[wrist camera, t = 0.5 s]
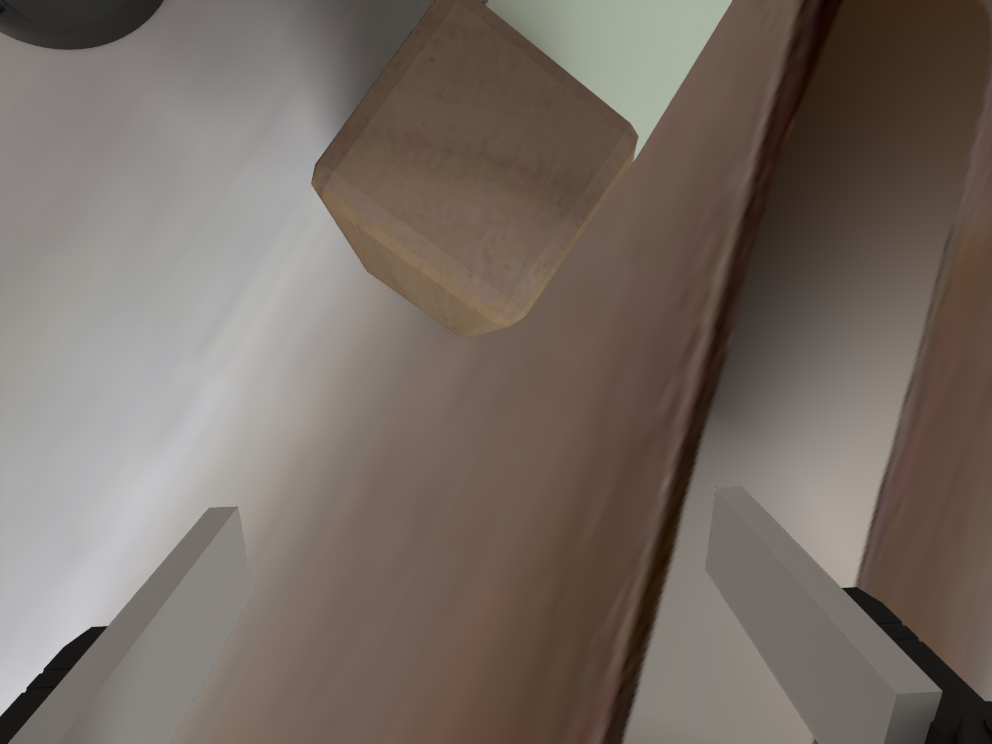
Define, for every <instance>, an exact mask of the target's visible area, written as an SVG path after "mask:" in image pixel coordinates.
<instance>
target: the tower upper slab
mask: <svg viewBox="0 0 992 744" xmlns="http://www.w3.org/2000/svg"><path fill="white" fill-rule="evenodd" d="M731 2H732V0H488V2H487V3H486V6H487V7H488V8H490V9H491V10H492V11H493V12H494V13H496V14H497V15H498V16H499V17H501V18H502V19H503V20H504V21H506V22H507V23H508V24H509V25H510V26H512V27H513V28H514V29H515V30H517V31H518V32H519V33H520V34H522V35H523V36H524V37H525V38H526V39H528V40H529V41H530V42H531V43H533V44H534V45H535V46H536V47H538V48H539V49H540V50H541V51H542V52H544V53H545V54H546V55H547V56H549V57H550V58H551V59H552V60H553V61H555V62H556V63H557V64H558V65H560V66H561V67H562V68H563V69H565V70H566V71H567V72H568V73H569V74H571V75H572V76H573V77H574V78H576V79H577V80H578V81H579V82H581V83H582V84H583V85H584V86H585V87H587V88H588V89H589V90H590V91H592V92H593V93H594V94H595V95H597V96H598V97H599V98H600V99H601V100H603V101H604V102H605V103H606V104H608V105H609V106H610V107H611V108H613V109H614V110H615V111H616V112H617V113H619V114H620V115H621V116H622V117H624V118H625V119H626V120H627V121H629V122H630V123H631V124H632V126H633V128H634V129H635V131H636V133H637V134H638V136H639V137H638V141H637V145H636V150H635V154H634V159H633V161H634V160H635V159H636V157H637V156H638V154H639V152H640V151H641V149H642V147H643V146H644V144H645V143H646V141H647V139H648V138H649V136H650V134H651V133H652V131H653V129H654V128H655V126H656V125H657V123H658V121H659V120H660V118H661V116H662V115H663V113H664V111H665V110H666V108H667V107H668V105H669V103H670V102H671V100H672V98H673V97H674V95H675V93H676V92H677V90H678V89H679V87H680V85H681V84H682V82H683V80H684V79H685V77H686V75H687V74H688V72H689V71H690V69H691V67H692V66H693V64H694V62H695V61H696V59H697V57H698V56H699V54H700V53H701V51H702V49H703V48H704V46H705V44H706V43H707V41H708V39H709V38H710V36H711V35H712V33H713V31H714V30H715V28H716V26H717V25H718V23H719V21H720V20H721V18H722V17H723V15H724V13H725V12H726V10H727V8H728V7H729V5H730V4H731ZM633 161H632V162H633Z"/></svg>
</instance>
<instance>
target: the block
mask: <svg viewBox="0 0 992 744" xmlns="http://www.w3.org/2000/svg"><path fill="white" fill-rule="evenodd" d="M638 137H639V136H638V134H637V133H636V131H635V129H634V128H633V126H632V124H631V123H630V122H629V121H627V120H626V119H625V118H624V117H622V116H621V115H620V114H619V113H617V112H616V111H615V110H614V109H613V108H611V107H610V106H609V105H608V104H606V103H605V102H604V101H603V100H601V99H600V98H599V97H598V96H597V95H595V94H594V93H593V92H592V91H590V90H589V89H588V88H587V87H585V86H584V85H583V84H582V83H581V82H579V81H578V80H577V79H576V78H574V77H573V76H572V75H571V74H569V73H568V72H567V71H566V70H565V69H563V68H562V67H561V66H560V65H558V64H557V63H556V62H555V61H553V60H552V59H551V58H550V57H549V56H547V55H546V54H545V53H544V52H542V51H541V50H540V49H539V48H538V47H536V46H535V45H534V44H533V43H531V42H530V41H529V40H528V39H526V38H525V37H524V36H523V35H522V34H520V33H519V32H518V31H517V30H515V29H514V28H513V27H512V26H510V25H509V24H508V23H507V22H506V21H504V20H503V19H502V18H501V17H499V16H498V15H497V14H496V13H494V12H493V11H492V10H491V9H490V8H488V7H487V6H486V5H485V4H483V3H482V2H481V1H480V0H435V1H434V2H433V3H432V5H431V6H430V7H429V9H428V10H427V12H426V13H425V14H424V16H423V17H422V18H421V20H420V21H419V23H418V24H417V25H416V27H415V28H414V29H413V31H412V32H411V34H410V35H409V36H408V38H407V39H406V40H405V42H404V43H403V45H402V46H401V47H400V49H399V50H398V51H397V53H396V54H395V56H394V57H393V58H392V60H391V61H390V62H389V64H388V65H387V67H386V68H385V69H384V71H383V72H382V73H381V75H380V76H379V78H378V79H377V80H376V82H375V83H374V84H373V86H372V87H371V89H370V90H369V91H368V93H367V94H366V95H365V97H364V98H363V99H362V101H361V102H360V104H359V105H358V106H357V108H356V109H355V110H354V112H353V113H352V115H351V116H350V117H349V119H348V120H347V121H346V123H345V124H344V126H343V127H342V128H341V130H340V131H339V132H338V134H337V135H336V137H335V138H334V139H333V141H332V142H331V143H330V145H329V146H328V148H327V149H326V150H325V152H324V153H323V154H322V156H321V157H320V159H319V160H318V161H317V163H316V164H315V168H314V173H313V178H312V182H311V184H312V186H313V188H314V189H315V191H316V192H317V194H318V195H319V197H320V198H321V200H322V202H323V203H324V205H325V206H326V208H327V209H328V211H329V213H330V214H331V216H332V217H333V219H334V220H335V222H336V224H337V225H338V227H339V228H340V230H341V231H342V233H343V234H344V236H345V238H346V239H347V241H348V242H349V244H350V245H351V247H352V249H353V250H354V252H355V253H356V255H357V256H358V258H359V259H360V261H361V263H362V264H363V266H364V267H365V269H366V270H367V272H369V273H370V274H371V275H373V276H374V277H376V278H377V279H379V280H380V281H381V282H383V283H384V284H386V285H387V286H389V287H390V288H391V289H393V290H394V291H396V292H397V293H399V294H400V295H401V296H403V297H404V298H406V299H407V300H408V301H410V302H411V303H413V304H414V305H416V306H417V307H418V308H420V309H421V310H423V311H424V312H426V313H427V314H428V315H430V316H431V317H433V318H434V319H436V320H437V321H438V322H440V323H441V324H443V325H444V326H446V327H447V328H448V329H450V330H451V331H453V332H454V333H455V334H457V335H458V336H462V337H466V338H471V337H474V336H478V335H481V334H485V333H488V332H491V331H495V330H498V329H502V328H505V327H509V326H511V325H512V324H514V323H515V322H517V321H519V320H520V319H522V318H523V317H525V316H526V314H527V313H528V312H529V310H530V309H531V307H532V306H533V304H534V303H535V301H536V300H537V298H538V297H539V296H540V294H541V293H542V291H543V290H544V288H545V287H546V285H547V284H548V282H549V281H550V280H551V278H552V277H553V275H554V274H555V272H556V271H557V269H558V268H559V267H560V265H561V264H562V262H563V261H564V259H565V258H566V256H567V255H568V253H569V252H570V251H571V249H572V248H573V246H574V245H575V243H576V242H577V240H578V239H579V238H580V236H581V235H582V233H583V232H584V230H585V229H586V227H587V226H588V224H589V223H590V222H591V220H592V219H593V217H594V216H595V214H596V213H597V211H598V210H599V208H600V207H601V206H602V204H603V203H604V201H605V200H606V198H607V197H608V195H609V194H610V193H611V191H612V190H613V188H614V187H615V185H616V184H617V182H618V181H619V179H620V178H621V177H622V175H623V174H624V172H625V171H626V169H627V168H628V166H629V165H630V164H631V162H632V161H633V159H634V154H635V150H636V145H637V141H638Z"/></svg>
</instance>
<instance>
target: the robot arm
mask: <svg viewBox="0 0 992 744" xmlns="http://www.w3.org/2000/svg"><path fill="white" fill-rule="evenodd" d="M162 2H163V0H0V32H2V33H4V34H6V35H8V36H10V37H12V38H15V39H17V40H20V41H23V42H25V43H29V44H32V45H36V46H41V47H46V48H52V49H67V50H73V49H85V48H92V47H97V46H101V45H104V44H108V43H111V42H113V41H116V40H118V39H120V38H122V37H124V36H126V35H128V34H130V33H131V32H133V31H134V30H136V29H137V28H139V27H140V26H141V25H142V24H144V23H145V22H146V21H147V20H148V19H149V18H150V17H151V16H152V15H153V14H154V13H155V12H156V10H157V9H158V8H159V6H160V5H161V3H162ZM705 570H706V572H707V573H708V575H709V577H710V578H711V580H712V581H713V583H714V584H715V586H716V587H717V589H718V590H719V592H720V593H721V595H722V597H723V598H724V600H725V601H726V603H727V604H728V606H729V607H730V609H731V610H732V612H733V613H734V615H735V616H736V618H737V620H738V621H739V623H740V624H741V626H742V627H743V629H744V630H745V632H746V633H747V635H748V636H749V638H750V639H751V641H752V643H753V644H754V645H755V647H756V648H757V650H758V652H759V653H760V655H761V656H762V658H763V659H764V661H765V662H766V664H767V666H768V667H769V669H770V670H771V672H772V673H773V675H774V676H775V678H776V679H777V681H778V682H779V684H780V685H781V687H782V689H783V690H784V691H785V693H786V695H787V696H788V698H789V699H790V701H791V702H792V704H793V705H794V707H795V708H796V710H797V712H798V713H799V715H800V716H801V718H802V719H803V721H804V722H805V724H806V725H807V727H808V728H809V730H810V731H811V733H812V735H813V736H814V738H815V739H816V741H817V742H818V744H992V702H991V701H984V700H983V699H982V698H981V697H980V696H979V695H978V694H977V693H976V692H975V691H974V690H973V689H972V688H971V687H969V686H968V685H967V684H966V683H965V682H964V681H963V680H962V679H961V678H960V677H959V676H958V675H957V674H956V673H955V672H954V671H953V670H952V669H951V668H950V667H949V666H948V665H947V664H945V663H944V662H943V661H942V660H941V659H940V658H939V657H938V656H937V655H936V654H935V653H934V652H933V651H932V650H931V649H930V648H929V647H928V646H927V645H926V644H925V643H924V642H920V641H919V639H918V637H917V636H916V635H915V634H914V633H913V632H912V631H911V630H910V629H909V628H908V627H907V626H903V624H902V621H901V620H900V619H899V618H897V617H896V616H895V615H894V614H893V613H892V612H891V611H890V610H889V609H888V608H887V607H886V606H885V605H884V604H883V603H882V602H880V601H878V600H877V599H875V598H873V597H872V596H870V595H868V594H867V593H865V592H864V591H862V590H860V589H859V588H857V587H851V588H841V587H840V586H839V585H838V584H837V583H836V582H835V581H834V580H833V579H832V578H831V577H830V576H829V575H828V574H827V573H826V572H825V571H824V570H823V569H822V568H821V567H820V566H819V565H818V564H817V563H816V561H815V560H814V559H813V558H812V557H811V556H810V555H809V554H808V553H807V552H806V551H805V550H804V549H803V548H802V547H801V546H800V545H799V544H798V543H797V542H796V541H795V540H794V539H793V538H792V537H791V536H790V535H789V534H788V533H787V532H786V531H785V530H784V529H783V528H782V527H781V526H780V525H779V524H778V523H777V522H776V521H775V520H774V519H773V518H772V516H771V515H770V514H769V513H768V512H767V511H766V510H765V509H764V508H763V507H761V505H760V504H759V503H758V502H757V501H756V500H755V499H754V498H753V497H752V496H751V495H750V494H749V493H748V492H747V491H746V490H745V489H744V488H743V487H742V486H733V487H715V493H714V502H713V510H712V519H711V526H710V534H709V543H708V551H707V559H706V568H705ZM253 592H254V591H253V586H252V580H251V575H250V569H249V564H248V558H247V553H246V547H245V542H244V537H243V531H242V526H241V520H240V515H239V509H238V507H219V508H209V509H208V510H207V511H206V512H205V513H204V514H203V516H202V517H201V518H200V519H199V520H198V521H197V523H196V524H195V525H194V526H193V527H192V528H191V530H190V531H189V532H188V533H187V534H186V535H185V537H184V538H183V539H182V540H181V541H180V543H179V544H178V545H177V546H176V547H175V548H174V550H173V551H172V552H171V553H170V554H169V555H168V557H167V558H166V559H165V560H164V561H163V562H162V564H161V565H160V566H159V567H158V568H157V569H156V571H155V572H154V573H153V574H152V575H151V576H150V578H149V579H148V580H147V581H146V582H145V584H144V585H143V586H142V587H141V588H140V589H139V591H138V592H137V593H136V594H135V595H134V596H133V598H132V599H131V600H130V601H129V602H128V603H127V605H126V606H125V607H124V608H123V609H122V610H121V612H120V613H119V614H118V615H117V616H116V618H115V619H114V620H113V621H112V622H111V623H110V625H109V626H103V627H91V628H90V629H88V630H87V631H85V632H84V633H83V634H81V635H80V636H78V637H77V638H76V639H74V640H73V641H71V642H70V643H69V644H67V645H66V646H64V647H63V648H62V650H61V651H60V652H59V653H58V654H57V655H56V656H55V657H54V658H53V659H52V661H51V662H50V663H49V664H48V665H47V666H46V667H45V668H44V671H43V673H42V674H39V675H38V676H37V677H36V678H35V679H34V680H33V681H32V682H31V684H30V685H29V686H28V687H27V690H26V692H25V693H21V694H20V696H19V697H18V698H17V699H16V700H15V701H14V702H13V703H12V704H11V705H10V707H9V708H8V709H7V710H6V711H5V712H4V713H3V714H2V715H1V716H0V744H170V742H171V740H172V738H173V737H174V735H175V733H176V731H177V729H178V727H179V726H180V724H181V722H182V720H183V718H184V717H185V715H186V713H187V711H188V709H189V708H190V706H191V704H192V702H193V700H194V699H195V697H196V695H197V693H198V691H199V689H200V688H201V686H202V684H203V682H204V680H205V679H206V677H207V675H208V673H209V671H210V670H211V668H212V666H213V664H214V662H215V661H216V659H217V657H218V655H219V653H220V652H221V650H222V648H223V646H224V644H225V642H226V641H227V639H228V637H229V635H230V633H231V632H232V630H233V628H234V626H235V624H236V623H237V621H238V619H239V617H240V615H241V614H242V612H243V610H244V608H245V606H246V604H247V603H248V601H249V599H250V597H251V595H252V594H253Z"/></svg>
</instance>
